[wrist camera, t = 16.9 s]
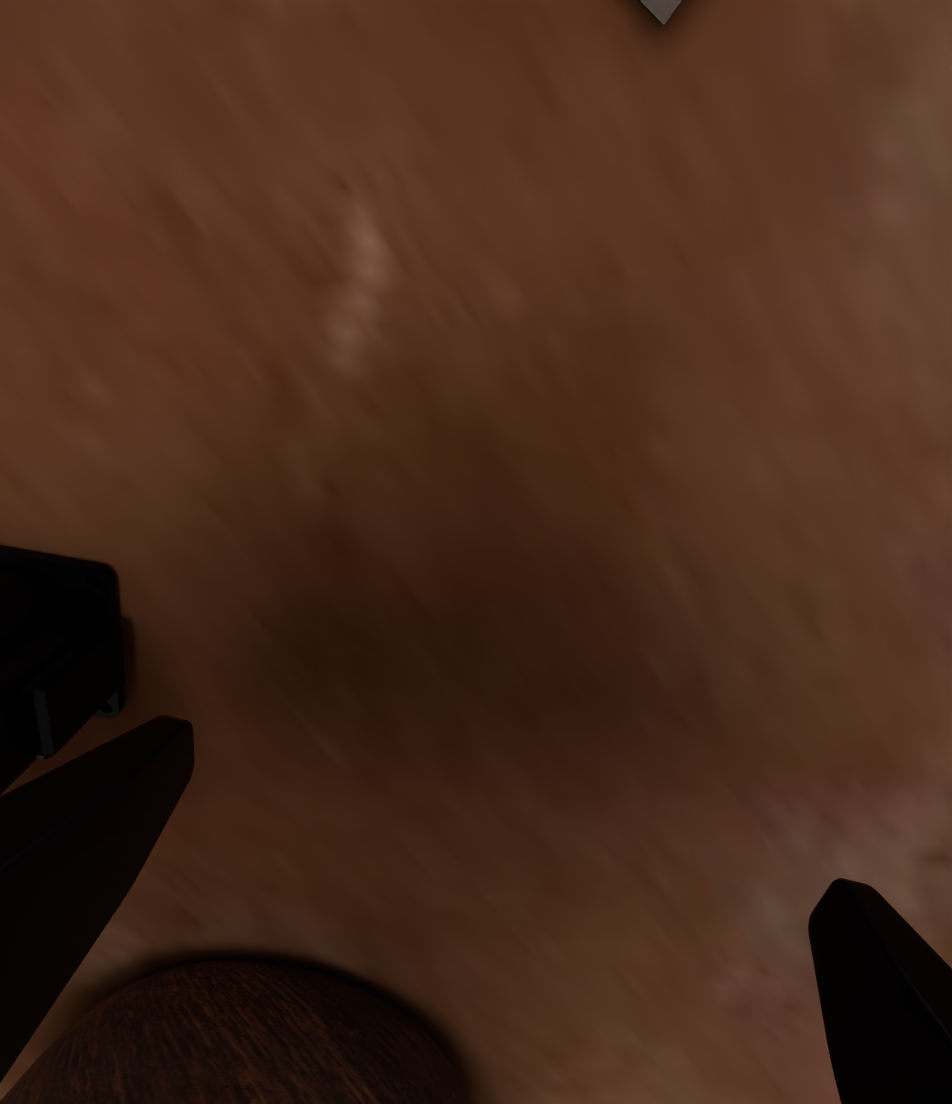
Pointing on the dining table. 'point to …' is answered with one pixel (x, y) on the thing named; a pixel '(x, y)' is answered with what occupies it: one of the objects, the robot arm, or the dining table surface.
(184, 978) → the wooden bowl
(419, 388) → the dining table surface
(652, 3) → the white divided tray
